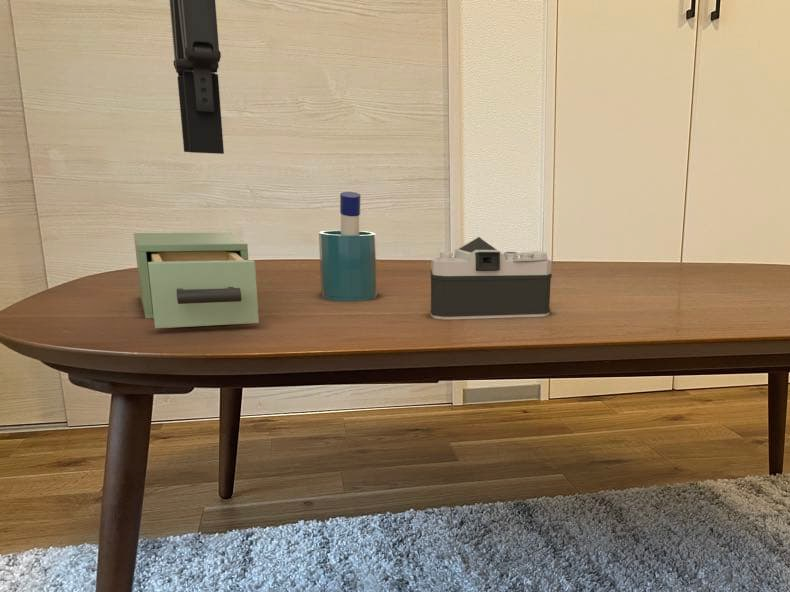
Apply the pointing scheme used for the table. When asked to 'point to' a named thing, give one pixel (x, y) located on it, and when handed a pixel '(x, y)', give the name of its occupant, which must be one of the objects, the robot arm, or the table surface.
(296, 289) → the table surface
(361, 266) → the pen cup
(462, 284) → the camera
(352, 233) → the marker
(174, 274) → the drawer
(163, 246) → the cabinet
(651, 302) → the table surface
